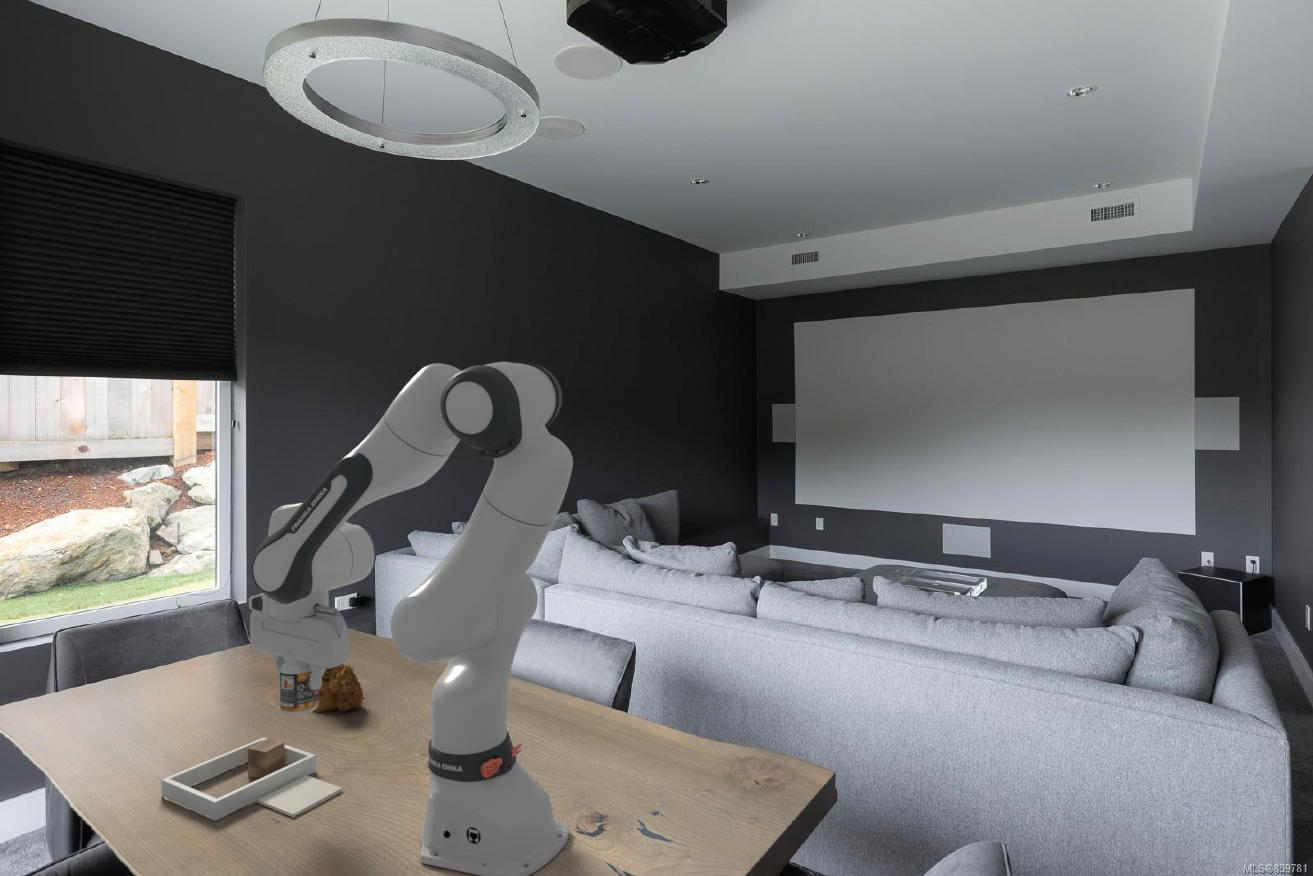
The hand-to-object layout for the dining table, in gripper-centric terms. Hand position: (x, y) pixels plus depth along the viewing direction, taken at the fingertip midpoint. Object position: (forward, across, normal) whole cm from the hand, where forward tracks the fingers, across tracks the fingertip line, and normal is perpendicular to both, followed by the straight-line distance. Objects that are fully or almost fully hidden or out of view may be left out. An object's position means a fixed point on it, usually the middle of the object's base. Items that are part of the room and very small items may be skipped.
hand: (299, 684), depth 117 cm
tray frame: (+19, +13, +2) cm, 23 cm away
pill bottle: (+4, 0, 0) cm, 4 cm away
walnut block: (+19, +13, -2) cm, 23 cm away
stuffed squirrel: (+19, +26, -28) cm, 43 cm away
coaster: (+19, 0, 0) cm, 19 cm away
